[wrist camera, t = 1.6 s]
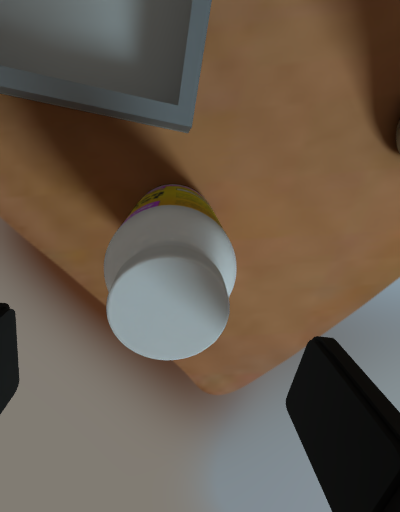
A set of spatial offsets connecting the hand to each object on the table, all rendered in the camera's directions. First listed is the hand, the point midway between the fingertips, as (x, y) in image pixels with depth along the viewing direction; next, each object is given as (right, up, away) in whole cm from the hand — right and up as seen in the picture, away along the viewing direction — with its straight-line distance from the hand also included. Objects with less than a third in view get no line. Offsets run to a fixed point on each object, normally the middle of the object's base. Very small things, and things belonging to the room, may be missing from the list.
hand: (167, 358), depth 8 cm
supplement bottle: (-1, +6, +13) cm, 15 cm away
